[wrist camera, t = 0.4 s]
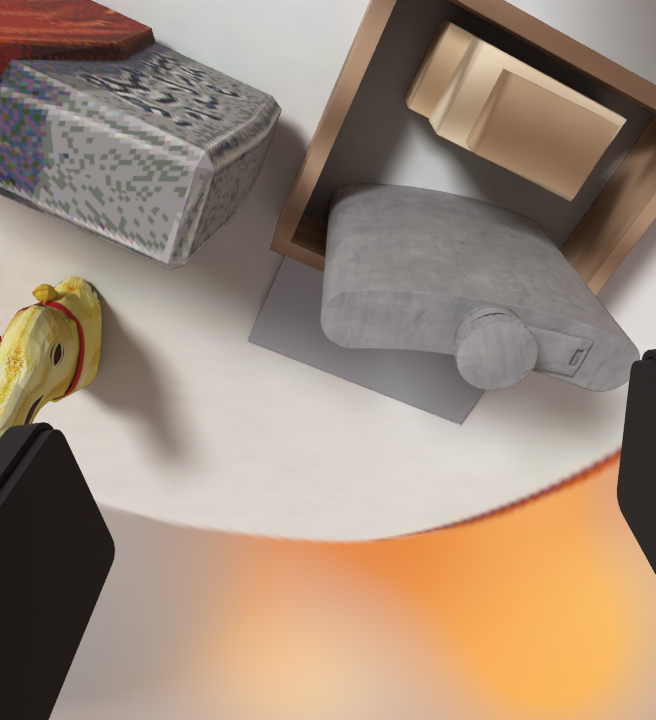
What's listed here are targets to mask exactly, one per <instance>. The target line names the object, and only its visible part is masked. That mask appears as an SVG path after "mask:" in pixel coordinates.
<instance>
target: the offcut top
mask: <svg viewBox="0 0 656 720" xmlns="http://www.w3.org/2000/svg"><path fill="white" fill-rule="evenodd" d="M619 127H620V126H618V125H616V124H615V123H613V122H611V121H609V120H607V119H605V118H603V117H602V116H600V115H598V114H596V113H594V112H592V111H590V110H588V109H586V108H583V107H581V106H579V105H577V104H575V103H573V102H571V101H569V100H567V99H565V98H563V97H561V96H559V95H557V94H555V93H553V92H551V91H549V90H547V89H545V88H543V87H541V86H539V85H536V84H534V83H532V82H530V81H528V80H526V79H524V78H522V77H520V76H518V75H516V74H514V73H512V72H510V71H508V70H506V69H504V68H503V70H502V72H501V74H500V76H499V77H498V79H497V81H496V83H495V85H494V87H493V89H492V91H491V93H490V95H489V97H488V99H487V101H486V103H485V104H484V106H483V108H482V110H481V112H480V114H479V116H478V118H477V120H476V122H475V124H474V126H473V128H472V130H471V131H470V133H469V135H468V137H467V139H466V142H467V144H468V145H469V146H470V148H471V149H472V150H473V152H474V153H475V154H476V155H479V156H481V157H483V158H485V159H487V160H490V161H492V162H494V163H496V164H498V165H501V166H503V167H505V168H507V169H509V170H511V171H514V172H516V173H518V174H520V175H522V176H525V177H527V178H529V179H531V180H533V181H536V182H538V183H540V184H542V185H544V186H547V187H549V188H551V189H553V190H555V191H558V192H560V193H562V194H564V195H566V196H569V197H571V198H573V199H574V197H575V196H576V194H577V192H578V191H579V189H580V188H581V186H582V185H583V183H584V182H585V180H586V178H587V177H588V175H589V174H590V172H591V171H592V169H593V168H594V166H595V164H596V163H597V161H598V160H599V158H600V157H601V155H602V154H603V152H604V151H605V149H606V147H607V146H608V144H609V143H610V141H611V140H612V138H613V137H614V135H615V133H616V132H617V130H618V129H619Z"/></svg>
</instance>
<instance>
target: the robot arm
mask: <svg viewBox="0 0 656 720" xmlns="http://www.w3.org/2000/svg"><path fill="white" fill-rule="evenodd" d="M617 499H618V503H619V507H620V510H621V512H622V514H623V516H624V518H625V520H626V522H627V523H628V525H629V527H630V529H631V531H632V532H633V534H634V536H635V538H636V539H637V542H638V543H639V545H640V547H641V549H642V551H643V552H644V554H645V556H646V558H647V559H648V562H649V563H650V565H651V567H652V569H653V571H654V572H655V574H656V349H653V350H648V351H646V352H645V353H644V355H643V357H642V360H639V361H635V362H633V364H632V366H631V370H630V379H629V388H628V396H627V405H626V414H625V423H624V432H623V440H622V449H621V458H620V467H619V475H618V485H617ZM114 555H115V547H114V542H113V539H112V536H111V534H110V532H109V530H108V528H107V526H106V524H105V522H104V519H103V517H102V515H101V513H100V511H99V509H98V507H97V504H96V502H95V500H94V498H93V496H92V494H91V492H90V489H89V487H88V485H87V483H86V481H85V479H84V477H83V475H82V472H81V470H80V468H79V466H78V464H77V462H76V460H75V457H74V455H73V453H72V451H71V449H70V447H69V445H68V442H67V440H66V438H65V436H64V435H63V433H62V432H61V431H60V430H57V429H55V430H54V429H53V427H52V426H51V425H50V424H48V423H45V422H42V423H34V424H26V425H17V426H12V427H9V428H8V429H7V430H6V431H5V432H4V433H3V435H2V436H1V437H0V720H49V717H50V715H51V712H52V710H53V707H54V705H55V703H56V700H57V698H58V695H59V693H60V690H61V688H62V686H63V683H64V681H65V678H66V676H67V673H68V671H69V668H70V666H71V664H72V661H73V659H74V656H75V654H76V651H77V649H78V646H79V644H80V642H81V639H82V637H83V634H84V632H85V629H86V627H87V624H88V622H89V620H90V617H91V615H92V612H93V610H94V607H95V605H96V602H97V600H98V597H99V595H100V592H101V590H102V587H103V585H104V583H105V580H106V578H107V576H108V573H109V571H110V568H111V566H112V563H113V560H114Z"/></svg>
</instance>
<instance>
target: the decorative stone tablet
mask: <svg viewBox="0 0 656 720" xmlns="http://www.w3.org/2000/svg"><path fill="white" fill-rule="evenodd" d="M281 110H282V109H281V108H280V106H279V105H278V103H277V102H276V101H275V99H274V98H273V97H272V96H271V95H269V94H267V93H264V92H262V91H260V90H258V89H256V88H254V87H251V86H249V85H247V84H245V83H243V82H240V81H238V80H236V79H234V78H232V77H229V76H227V75H225V74H223V73H221V72H219V71H216V70H214V69H212V68H210V67H208V66H205V65H203V64H201V63H199V62H197V61H195V60H192V59H190V58H188V57H186V56H184V55H181V54H179V53H177V52H175V51H173V50H171V49H168V48H166V47H164V46H162V45H160V44H157V43H155V40H154V36H153V32H152V28H150V27H148V26H146V25H144V24H141V23H139V22H137V21H135V20H133V19H131V18H128V17H126V16H124V15H122V14H120V13H118V12H115V11H113V10H111V9H109V8H107V7H105V6H103V5H100V4H98V3H96V2H94V1H92V0H0V195H3V196H5V197H7V198H9V199H12V200H14V201H16V202H18V203H21V204H23V205H25V206H27V207H30V208H32V209H34V210H36V211H39V212H41V213H43V214H45V215H48V216H50V217H52V218H54V219H56V220H59V221H61V222H63V223H65V224H68V225H70V226H72V227H74V228H77V229H79V230H81V231H83V232H86V233H88V234H90V235H92V236H95V237H97V238H99V239H101V240H104V241H106V242H108V243H110V244H113V245H115V246H117V247H119V248H122V249H124V250H126V251H128V252H131V253H133V254H135V255H137V256H140V257H142V258H144V259H146V260H149V261H151V262H153V263H155V264H158V265H160V266H162V267H164V268H167V269H169V270H173V269H175V268H178V267H180V266H182V265H185V264H186V263H187V262H188V261H189V260H190V259H191V258H192V257H193V256H194V255H195V254H196V253H197V252H198V251H199V250H201V249H202V248H203V247H204V246H205V245H206V244H207V243H208V242H209V241H210V240H211V239H212V238H213V237H214V236H215V235H216V234H217V233H218V232H219V231H220V230H221V229H222V228H223V227H224V226H225V225H226V224H227V223H229V222H230V221H231V220H232V219H233V218H234V217H235V216H236V215H237V214H238V213H239V211H240V209H241V207H242V205H243V204H244V202H245V200H246V198H247V196H248V194H249V192H250V190H251V188H252V186H253V184H254V182H255V181H256V179H257V177H258V175H259V173H260V170H261V167H262V164H263V161H264V159H265V156H266V153H267V150H268V147H269V144H270V142H271V139H272V136H273V133H274V130H275V127H276V125H277V122H278V119H279V116H280V113H281Z"/></svg>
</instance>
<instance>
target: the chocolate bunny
mask: <svg viewBox="0 0 656 720" xmlns="http://www.w3.org/2000/svg"><path fill="white" fill-rule="evenodd" d="M32 293H33V295H34V296H35V297H36V299H37V300H38V301H40V302H39V303H37V304H34V305H32V306H29V307H26V308H23V309H21V310H19V311H18V312H17V314H16V315H15V316H14V318H13V319H12V320H11V322H10V323H9V325H8V327H7V329H6V331H5V333H4V335H3V338H2V339H1V336H0V437H1V436H2V435H3V433H4V432H5V431H6V430H7V429H8V428H9V427H12V426H17V425H26V424H32V422H33V420H34V418H35V416H36V415H37V413H38V412H39V410H40V409H41V408H42V407H43V406H44V405H45V404H46V403H47V402H49V401H52V402H57V401H59V400H61V399H63V398H65V397H67V396H69V395H70V394H72V393H74V392H76V391H78V390H80V389H82V388H84V387H86V386H87V385H89V384H90V383H91V382H92V381H93V380H94V379H95V378H96V376H97V371H98V364H99V361H100V348H101V329H102V320H101V305H100V301H99V298H98V294H97V293H96V292H95V291H94V290H93V289H92V288H91V287H90V285H89V284H88V283H87V282H86V281H85V280H84V279H81V278H77V277H72V276H71V277H69V278H68V279H66V280H64V281H63V282H61V283H60V284H58V285H57V286H56V287H55V288H54V287H52V286H50V285H47V284H42V285H40V286H39V287H37V288H35V291H33V292H32Z"/></svg>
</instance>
